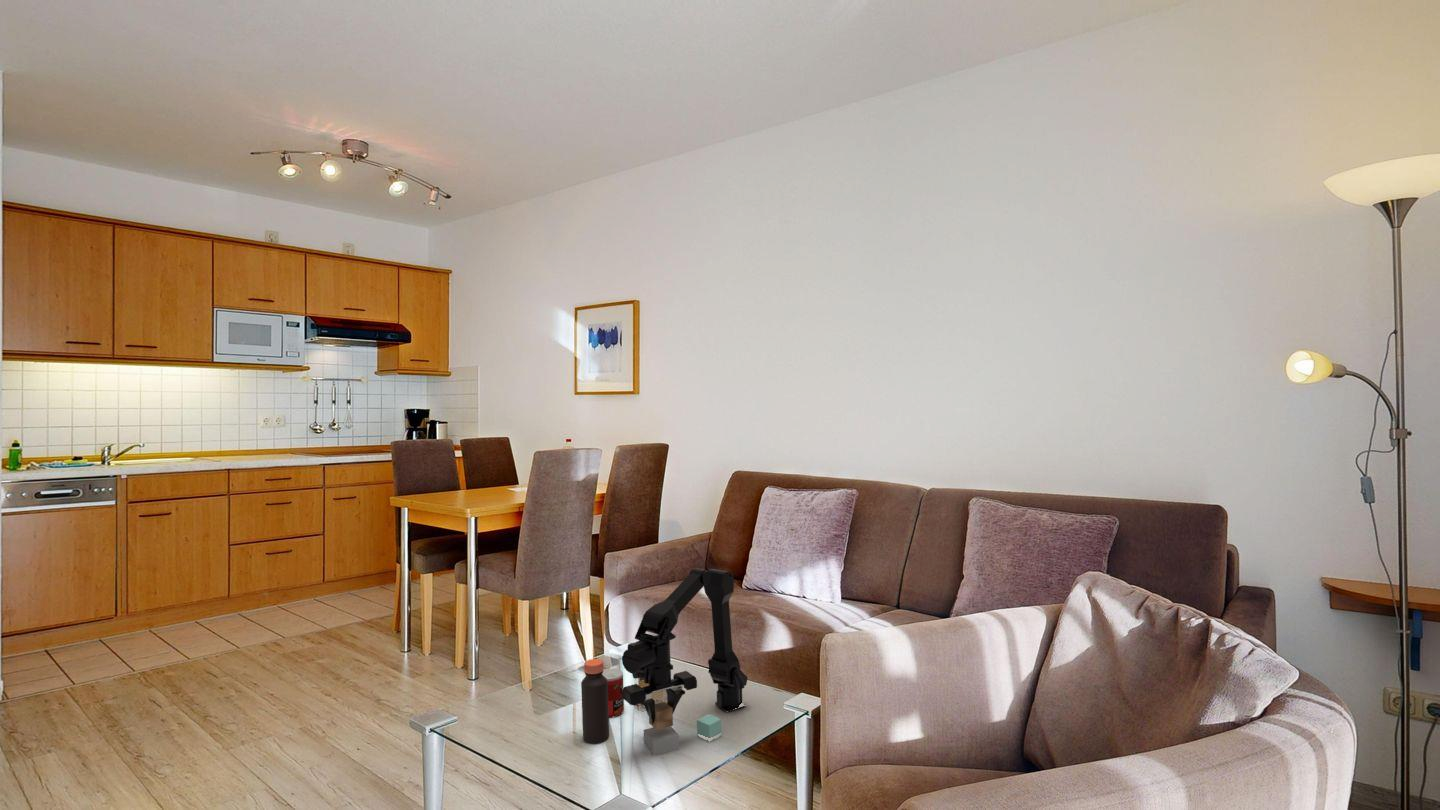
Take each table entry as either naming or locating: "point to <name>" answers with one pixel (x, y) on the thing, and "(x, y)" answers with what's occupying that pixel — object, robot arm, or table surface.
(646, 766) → the table surface
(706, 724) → the teal cube
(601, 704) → the bottle
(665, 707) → the walnut cube
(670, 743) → the slate block
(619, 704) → the canned food
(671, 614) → the robot arm
